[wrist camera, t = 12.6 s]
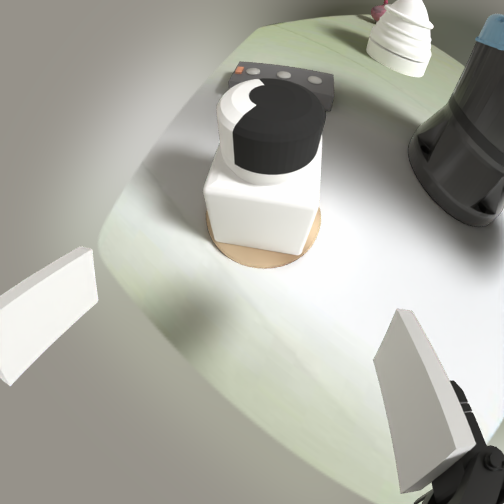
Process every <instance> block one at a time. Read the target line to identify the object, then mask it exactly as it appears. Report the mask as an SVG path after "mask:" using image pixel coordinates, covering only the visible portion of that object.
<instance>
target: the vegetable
mask: <svg viewBox="0 0 504 504" xmlns="http://www.w3.org/2000/svg"><path fill="white" fill-rule="evenodd" d="M387 4H388V0H384V4H383V5H381V6H375V7H373V8H372V10H371V15H372V17H373V18H374V20H375V21H376V22H378V21H379V19H380V17H381V16H383V14H384V13H385V12H386V11H387V10H386V9H385V8H384V6H385V5H387Z"/></svg>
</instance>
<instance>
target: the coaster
mask: <svg viewBox="0 0 504 504" xmlns="http://www.w3.org/2000/svg"><path fill="white" fill-rule="evenodd" d="M206 221H207V227H208V230H209V233H210V236H211V238H212V240H213V242H214V243H215V245H216V246H217V247H218V249H219V250H220V251H221V252H222V253H223V254H225V255H226V256H227V257H229V258H230V259H232V260H233V261H235V262H237V263H240V264H242V265H245V266H249V267H254V268H265V269H266V268H276V267H281V266H284V265H287V264H290V263H292V262H294V261H295V260H297V259H299V258H300V257H301V256H303V255H304V254H305V253H306V252H307V251H308V250H309V249H310V247H311V246H312V245H313V243H314V241H315V239H316V237H317V235H318V232H319V229H320V224H321V213H320V208H318V211H317V213H316V216H315V219H314V221H313V224H312V227H311V229H310V232H309V235H308V237H307V240H306V243H305V245H304V248H303V250H302V253H301V254H300V255H292V254H286V253H280V252H274V251H268V250H263V249H257V248H251V247H245V246H239V245H233V244H227V243H221V242H217V241H216V240H215V239H214V235H213V231H212V227H211V223H210V219H209V215H208V211H206Z"/></svg>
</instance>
